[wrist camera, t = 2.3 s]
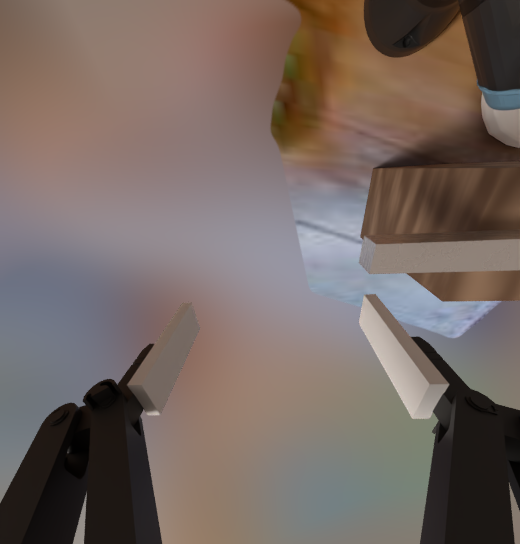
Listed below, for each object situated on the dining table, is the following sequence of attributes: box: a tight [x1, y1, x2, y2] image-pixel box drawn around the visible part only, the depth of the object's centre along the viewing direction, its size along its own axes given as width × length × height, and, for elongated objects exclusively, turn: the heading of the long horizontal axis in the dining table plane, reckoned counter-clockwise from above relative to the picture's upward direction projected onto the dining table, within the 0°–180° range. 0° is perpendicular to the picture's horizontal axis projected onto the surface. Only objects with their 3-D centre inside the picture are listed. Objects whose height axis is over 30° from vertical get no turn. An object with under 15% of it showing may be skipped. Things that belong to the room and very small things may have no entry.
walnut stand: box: [361, 161, 520, 301], centre depth 34 cm, size 16×16×28 cm
